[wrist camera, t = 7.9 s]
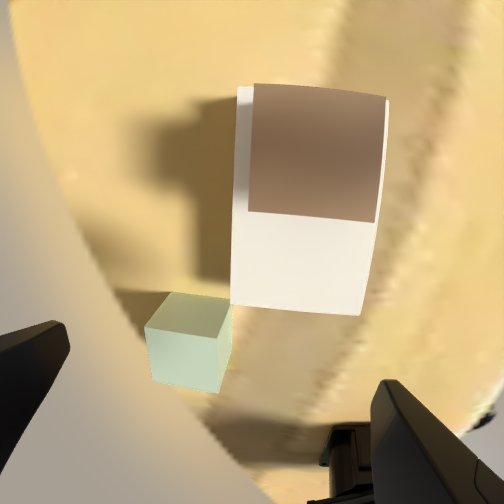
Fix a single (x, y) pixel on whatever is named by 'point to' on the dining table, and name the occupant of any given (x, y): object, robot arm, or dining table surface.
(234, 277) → the base slab
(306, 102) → the walnut cube
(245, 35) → the dining table surface
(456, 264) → the dining table surface
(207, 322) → the sage cube
